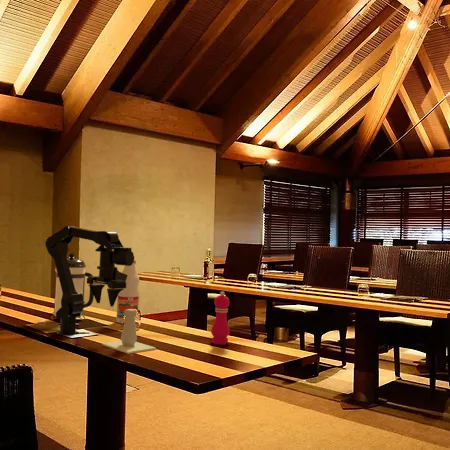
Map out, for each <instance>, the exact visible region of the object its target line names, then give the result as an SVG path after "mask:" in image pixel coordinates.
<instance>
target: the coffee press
mask: <svg viewBox="0 0 450 450" xmlns="http://www.w3.org/2000/svg"><path fill="white" fill-rule="evenodd" d="M74 257H75V254H74V252H69V255H68V257H67V260H68V264H69V268H70V272H71V275H72V279H73V283H74V287H75V290H76V292H77V293H78V294H80V293H82V295H83V300H84V301H85V299H84V298H85V284H86V283H85V281H86V280H85V279H86V277H87V278H88V277H89V276H94V275H93V274H92V273H90V272H86V267H87V264H86V262H85V261H84V259H83V260H82V259H79V258H74ZM54 271H55V290H54V309H53V314H52V315H51V316H50V319H51V320H56V319H57V318H56V312H57V311H58V310H59V309H60V308H61V299H62V295H63V292H62V289H61V285H60V281H59V277H58V273H57V269H56V267H55V270H54ZM94 299H95V297H94V295H93V292H92V290H91V288H90V287H89V297H88V301H87V302H85V303H84V309H85V308H88V307H90V306H91V305H92V304H93V302H94ZM53 316H55V317H54V318H53ZM82 317H83V318H82ZM76 319H80V320H81V321H82V322H85V320H86V317H85V316H84V310H83V311H82V312H81V315H80V317H76Z"/></svg>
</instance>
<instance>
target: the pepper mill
mask: <svg viewBox="0 0 450 450" xmlns="http://www.w3.org/2000/svg"><path fill="white" fill-rule="evenodd" d="M213 301H214V303H213V304H214V306H215V308H214V309H215V310H214V312H215V318H214V322H213V324H212V326H211V329H210V330H211V331H210V333H211V335H212V338H211V343H212V344H214V345H227V344H228V343H229V338H228V336H229V335H230V332H231V331H230V326H229V324H228V319H227V313H228V312H229V308H228V307H230V303H231V302H230V299H229V297H228V296H226V294H225V291H220V292H219V295H217V296H216V297H215V298H214V300H213ZM226 343H227V344H226Z"/></svg>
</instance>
